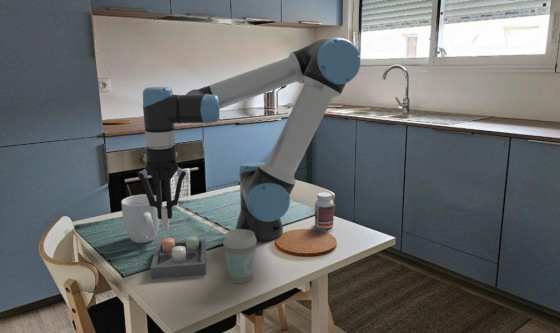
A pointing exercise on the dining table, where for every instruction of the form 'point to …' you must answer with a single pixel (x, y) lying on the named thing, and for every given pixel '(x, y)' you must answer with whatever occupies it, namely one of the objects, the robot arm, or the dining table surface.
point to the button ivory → (179, 254)
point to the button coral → (168, 245)
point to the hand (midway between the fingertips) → (165, 229)
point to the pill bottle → (324, 210)
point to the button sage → (192, 244)
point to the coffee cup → (240, 254)
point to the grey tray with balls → (168, 268)
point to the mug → (140, 218)
